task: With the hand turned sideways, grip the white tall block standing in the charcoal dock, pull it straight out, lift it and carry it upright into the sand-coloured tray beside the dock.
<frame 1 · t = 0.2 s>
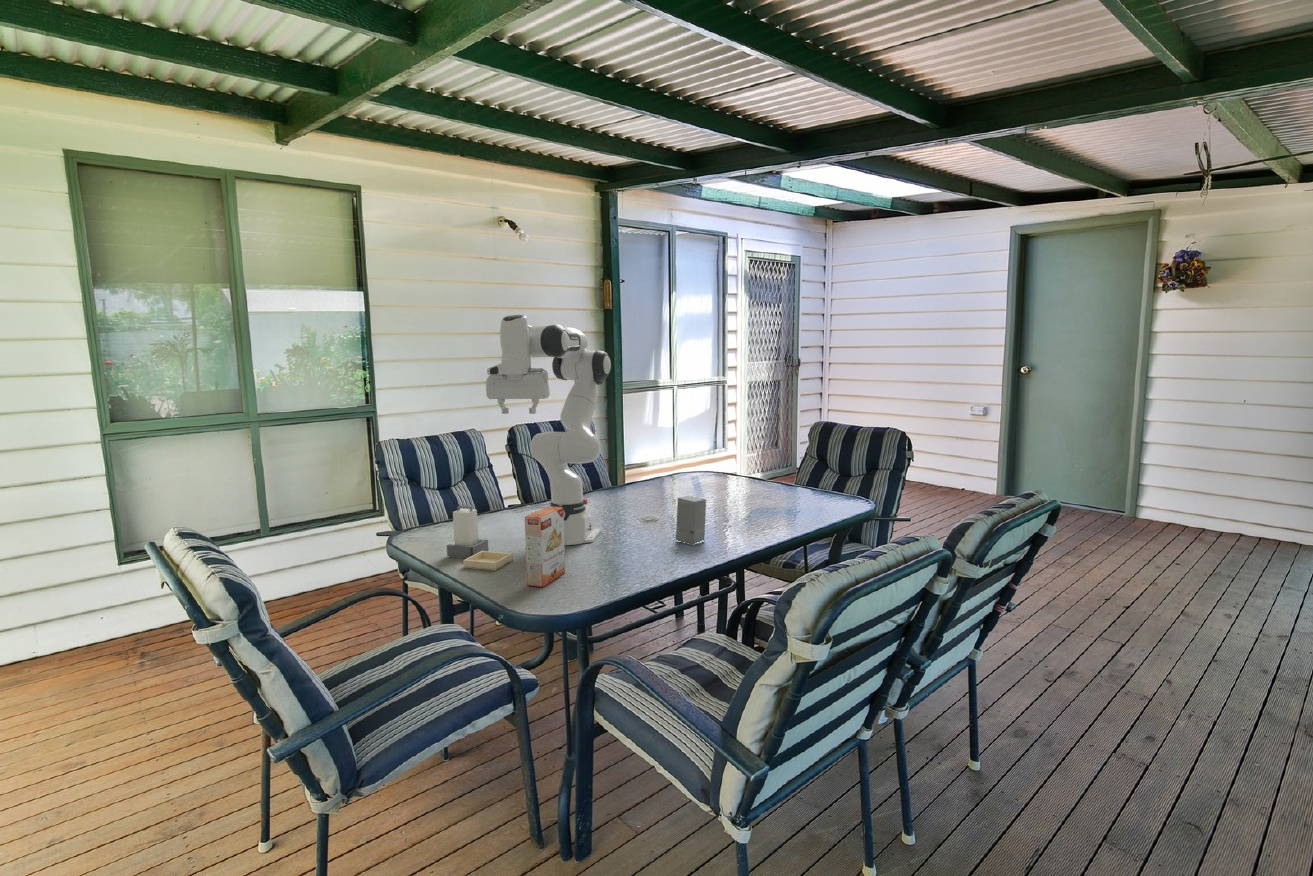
hand: (518, 413, 218), 49 cm above the table, tool pointing down, fingers open, 8 cm apart
white tall block: (466, 530, 238), in the dock
skincare box: (691, 542, 248), on the table
cracker box: (547, 580, 212), on the table
dock: (467, 554, 239), on the table
tray: (488, 564, 227), on the table
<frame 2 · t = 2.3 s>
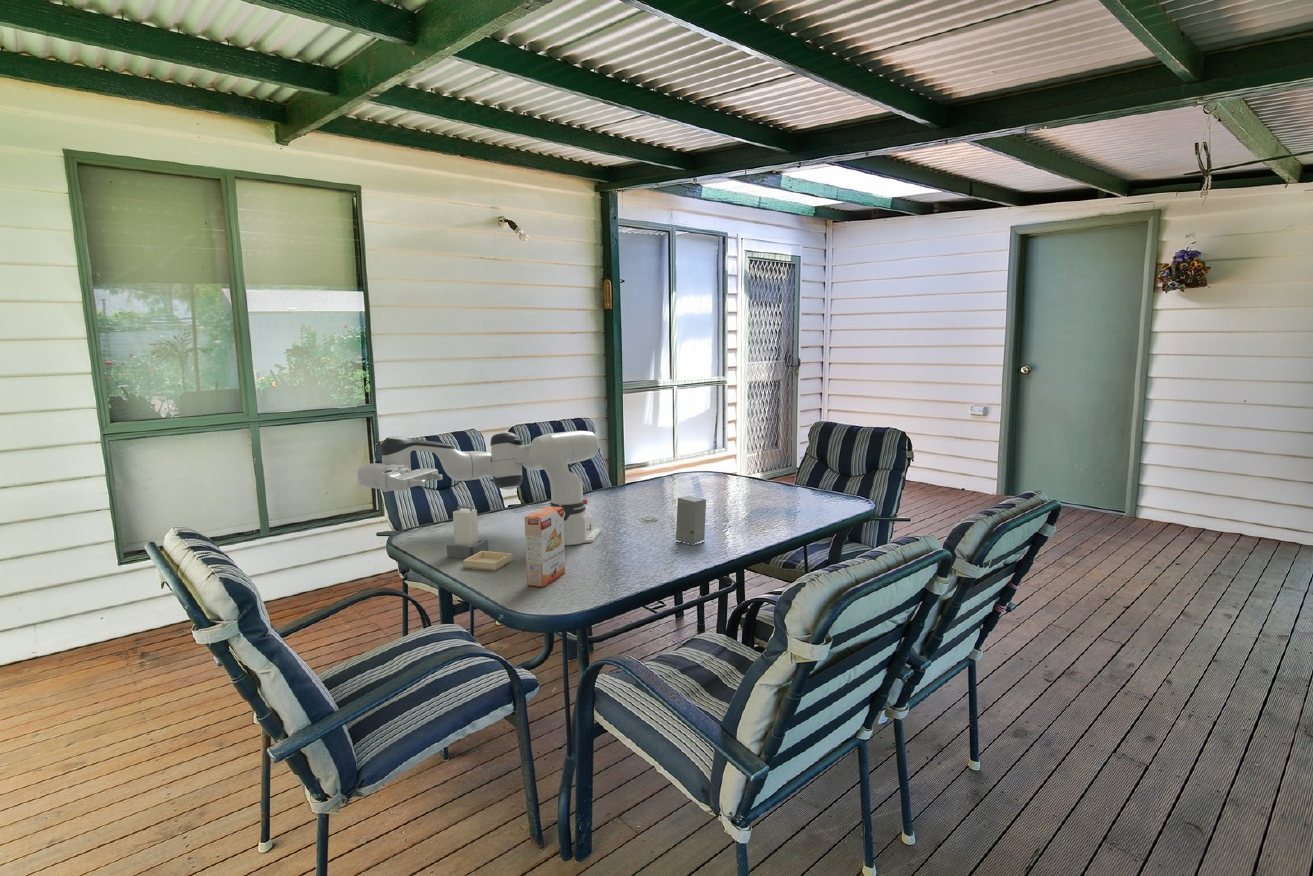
hand: (432, 480, 240), 25 cm above the table, tool horizontal, fingers open, 8 cm apart
nothing on the table moved.
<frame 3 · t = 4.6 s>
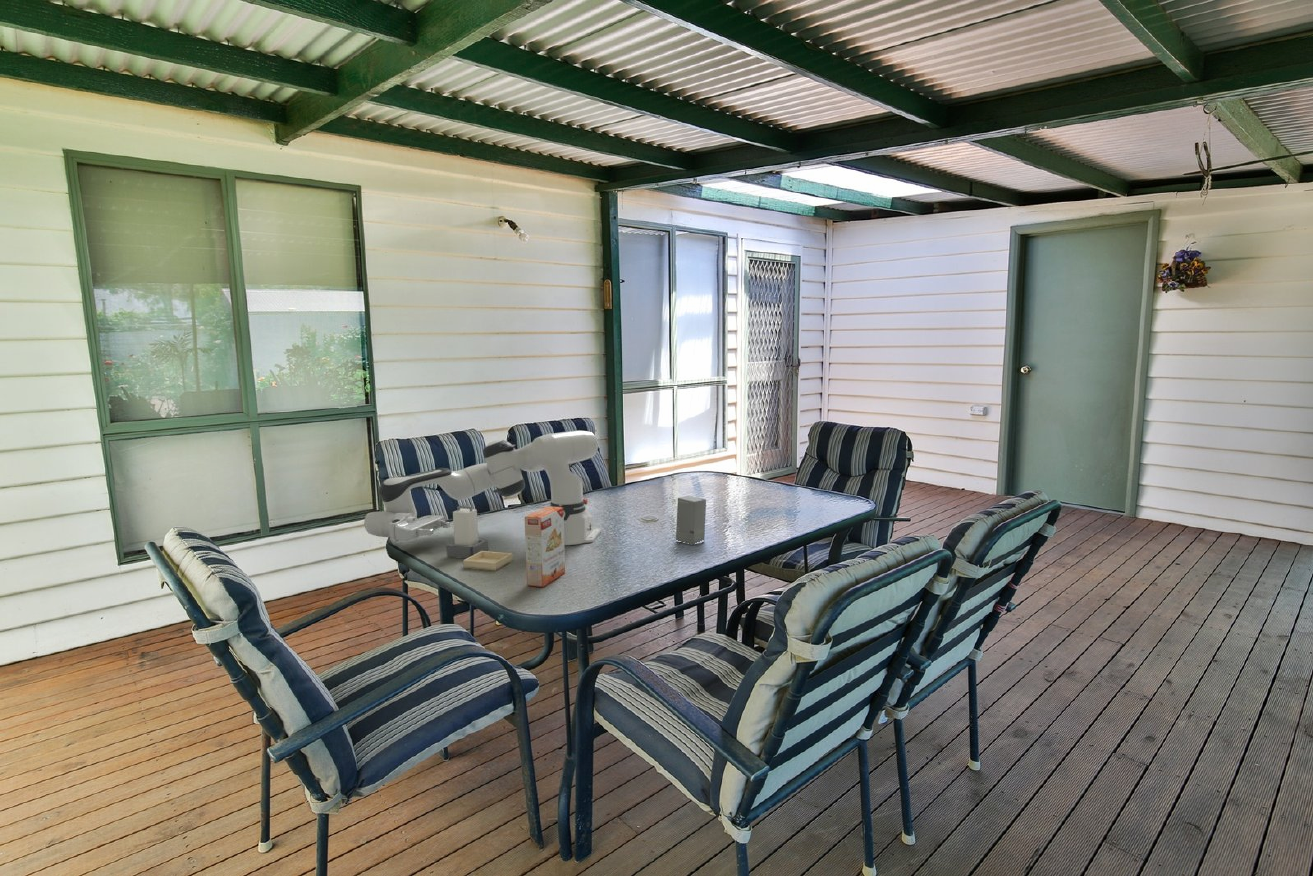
hand: (440, 528, 241), 8 cm above the table, tool horizontal, fingers open, 8 cm apart
nothing on the table moved.
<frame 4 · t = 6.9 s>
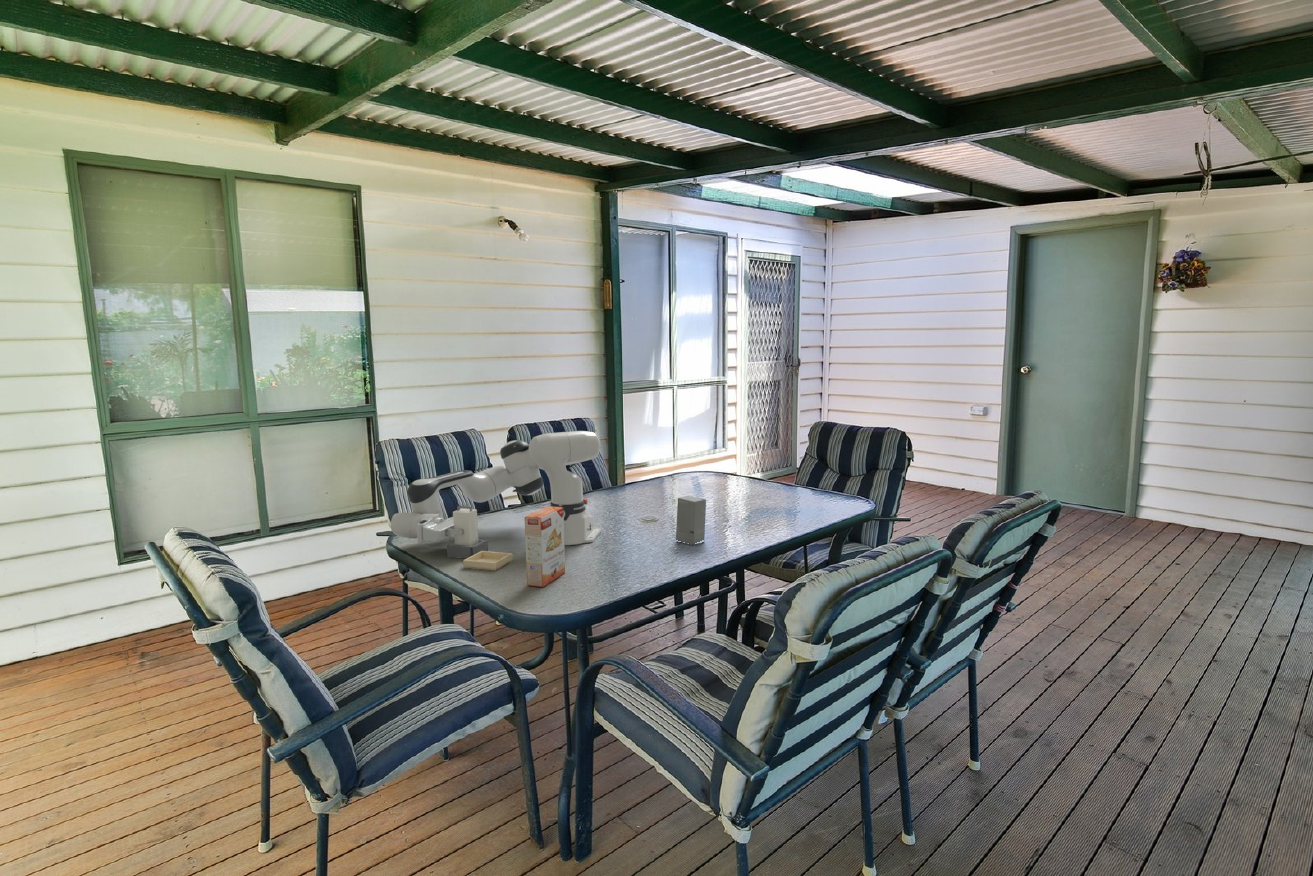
hand: (468, 529, 237), 9 cm above the table, tool horizontal, fingers closed on white tall block, 5 cm apart
white tall block: (466, 530, 238), in the dock, touching gripper
everything else where it was.
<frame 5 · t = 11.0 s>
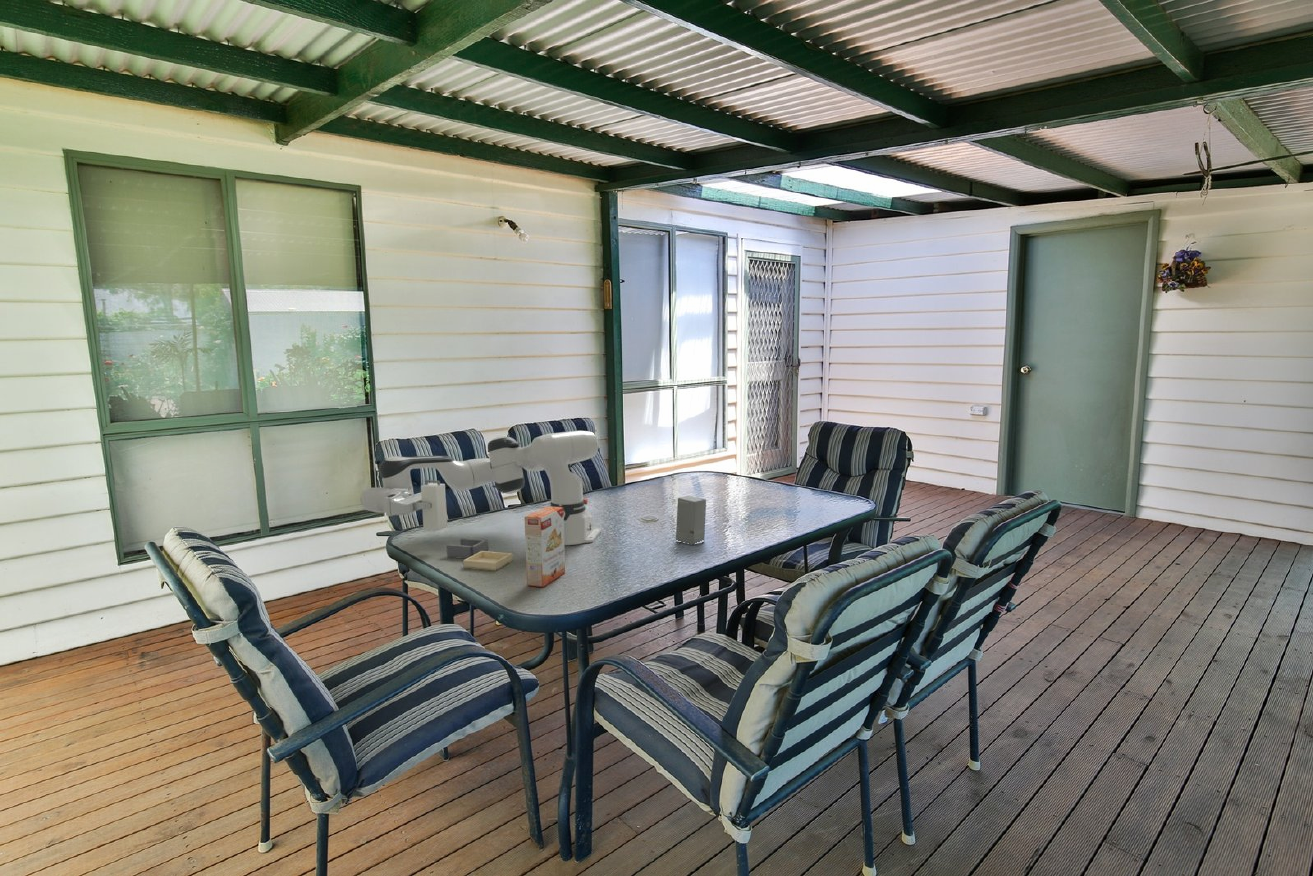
hand: (436, 503, 240), 17 cm above the table, tool horizontal, fingers closed on white tall block, 5 cm apart
white tall block: (434, 504, 240), point 16 cm above the table, touching gripper
everything else where it was.
when the fingers open (11 cm above the table, at t = 15.1 s): white tall block drops 1 cm, resting on tray.
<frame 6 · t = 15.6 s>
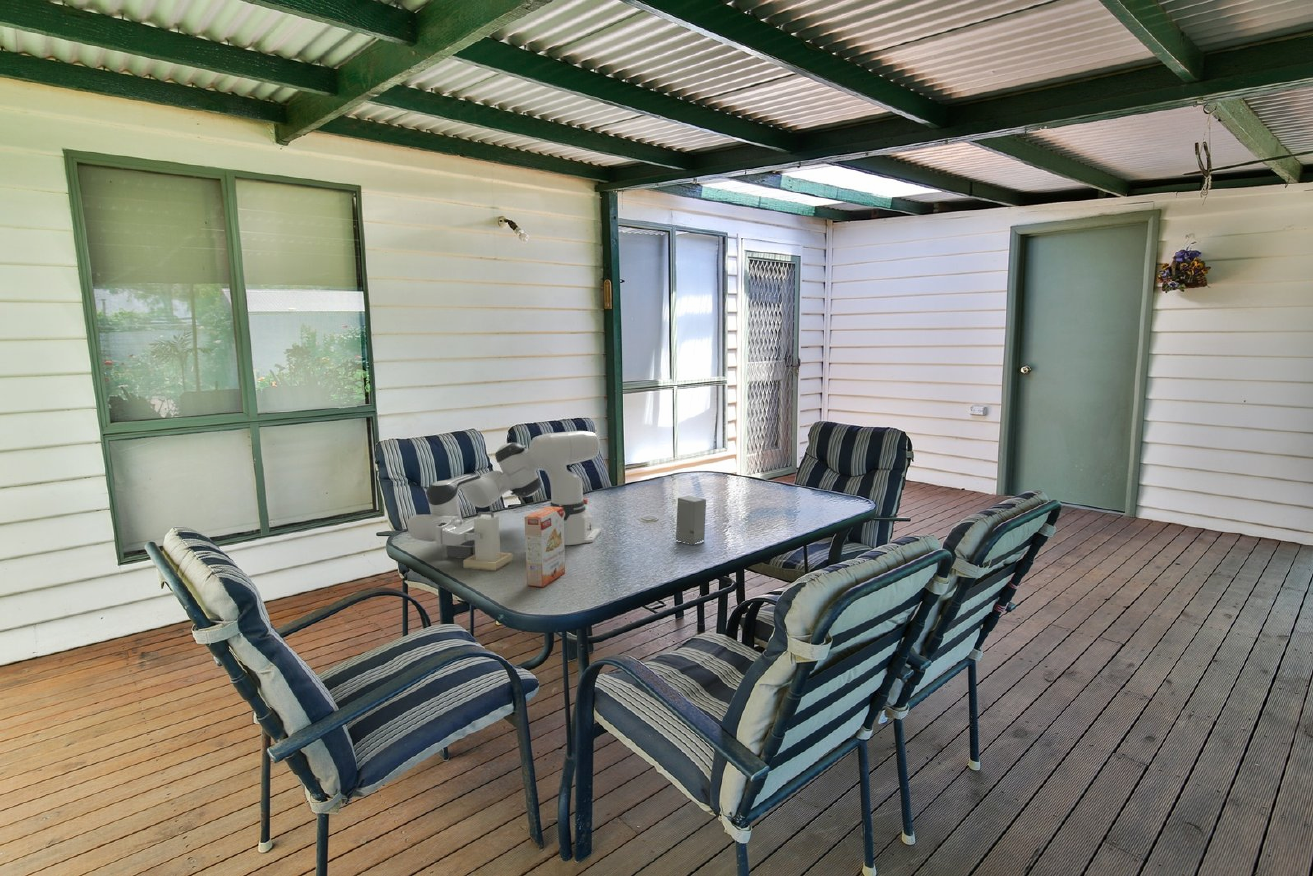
hand: (489, 532, 226), 11 cm above the table, tool horizontal, fingers open, 8 cm apart
white tall block: (487, 537, 226), in the tray, point 9 cm above the table
everything else where it was.
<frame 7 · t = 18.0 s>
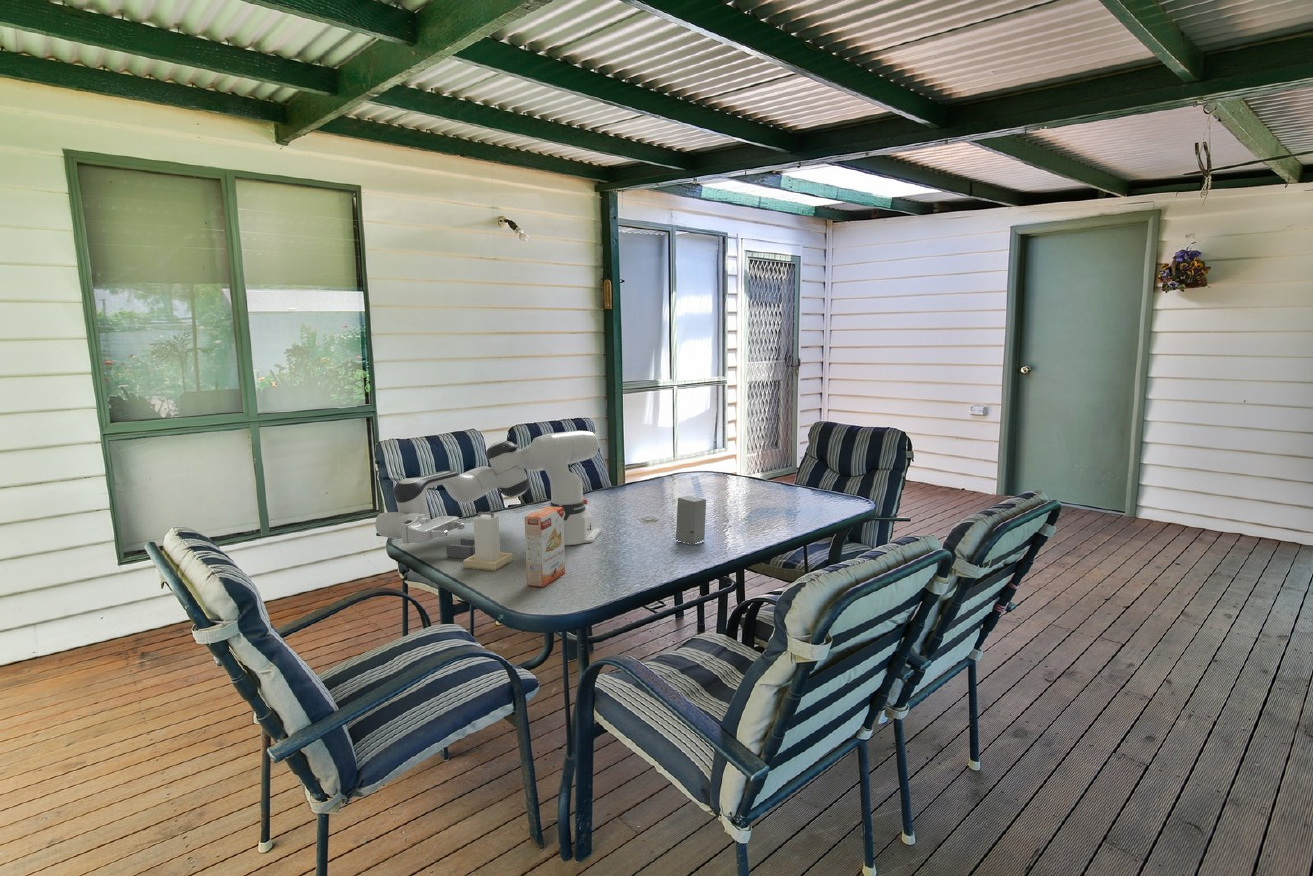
hand: (454, 530, 230), 11 cm above the table, tool horizontal, fingers open, 8 cm apart
nothing on the table moved.
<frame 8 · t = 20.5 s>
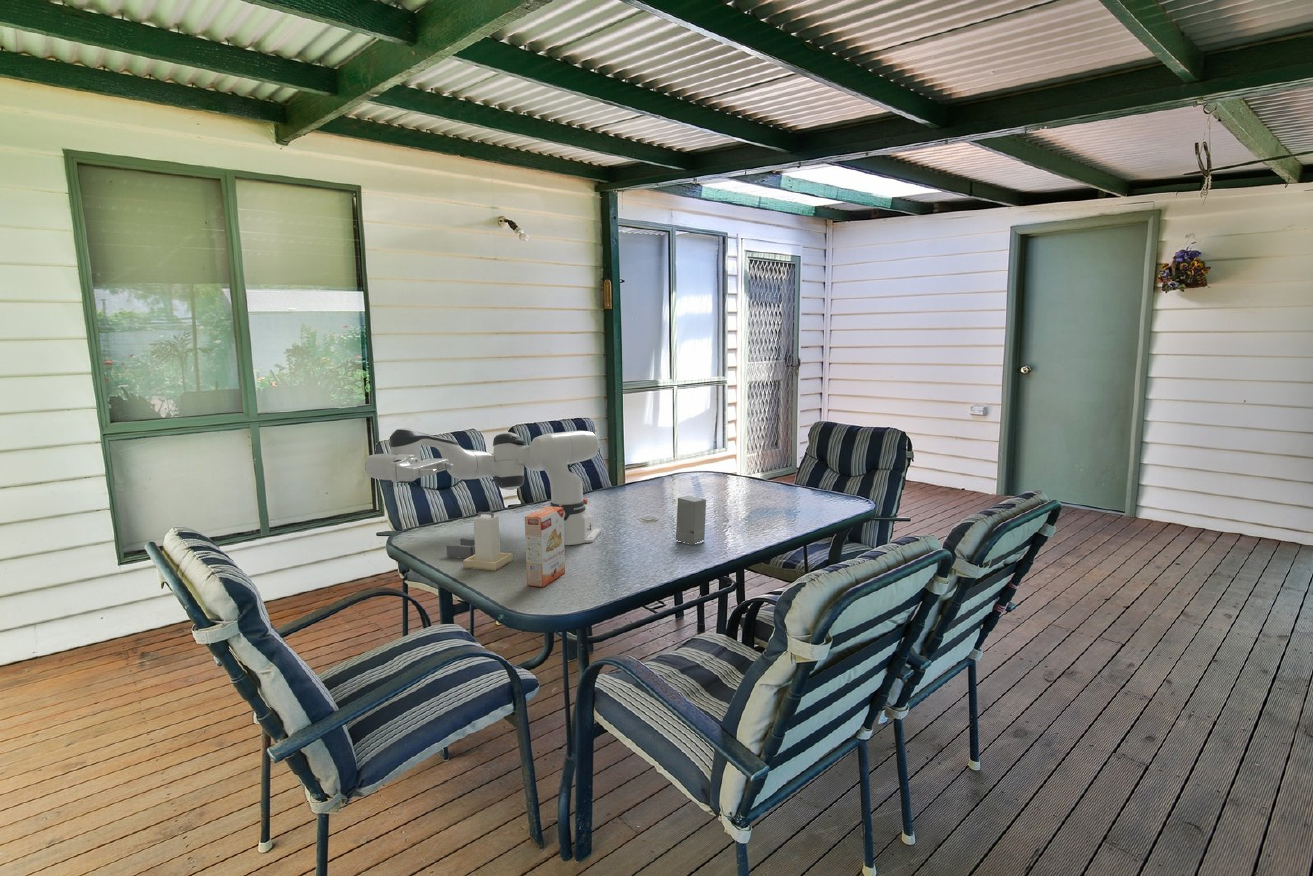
hand: (443, 469, 230), 30 cm above the table, tool horizontal, fingers open, 8 cm apart
nothing on the table moved.
at the end: white tall block 0.1 cm off-centre on the tray, point 8.9 cm above the tray's base; white tall block tilted 0°; the gripper is holding nothing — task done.
